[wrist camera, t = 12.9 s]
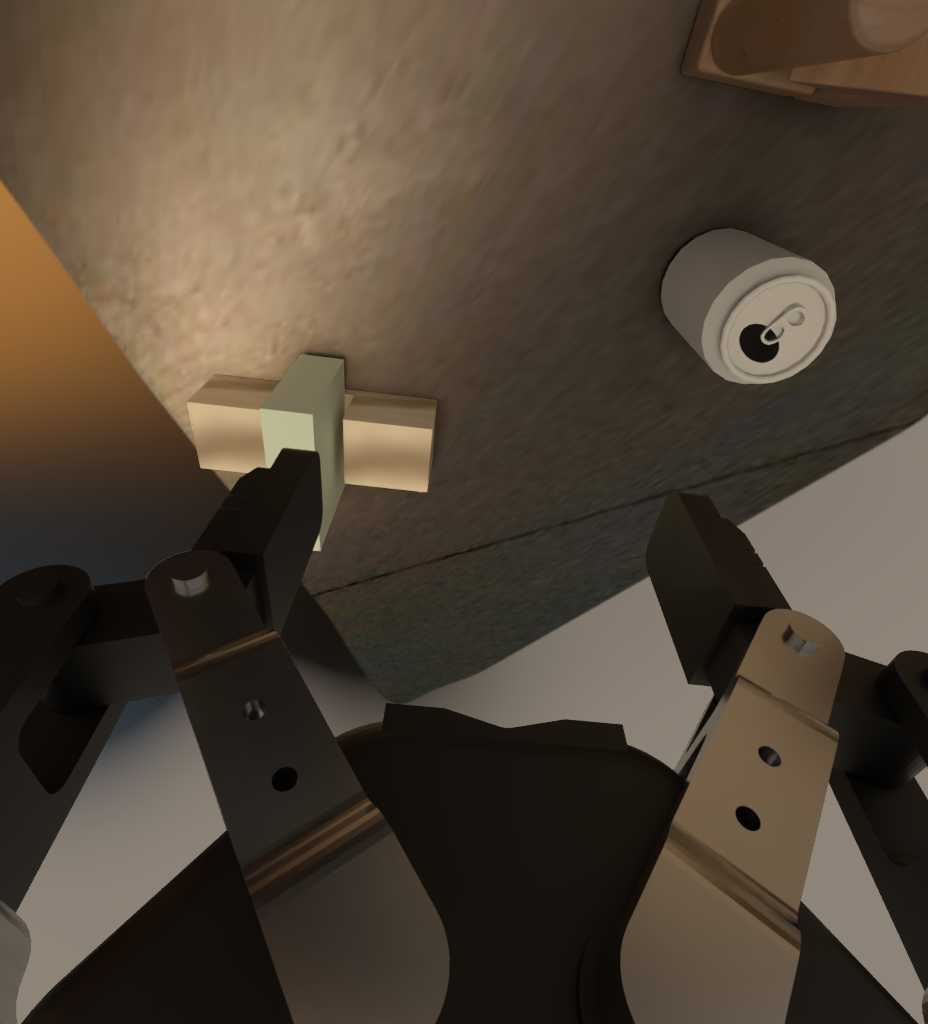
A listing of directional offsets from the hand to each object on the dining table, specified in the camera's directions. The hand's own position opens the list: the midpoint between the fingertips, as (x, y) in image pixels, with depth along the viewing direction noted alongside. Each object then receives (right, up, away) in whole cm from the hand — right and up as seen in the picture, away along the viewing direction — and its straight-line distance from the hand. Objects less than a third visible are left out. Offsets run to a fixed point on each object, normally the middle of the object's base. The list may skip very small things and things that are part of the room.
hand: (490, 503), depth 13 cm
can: (+18, +17, +28) cm, 37 cm away
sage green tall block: (-13, +8, +35) cm, 38 cm away
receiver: (-13, +8, +36) cm, 39 cm away
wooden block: (+18, +28, +20) cm, 39 cm away
